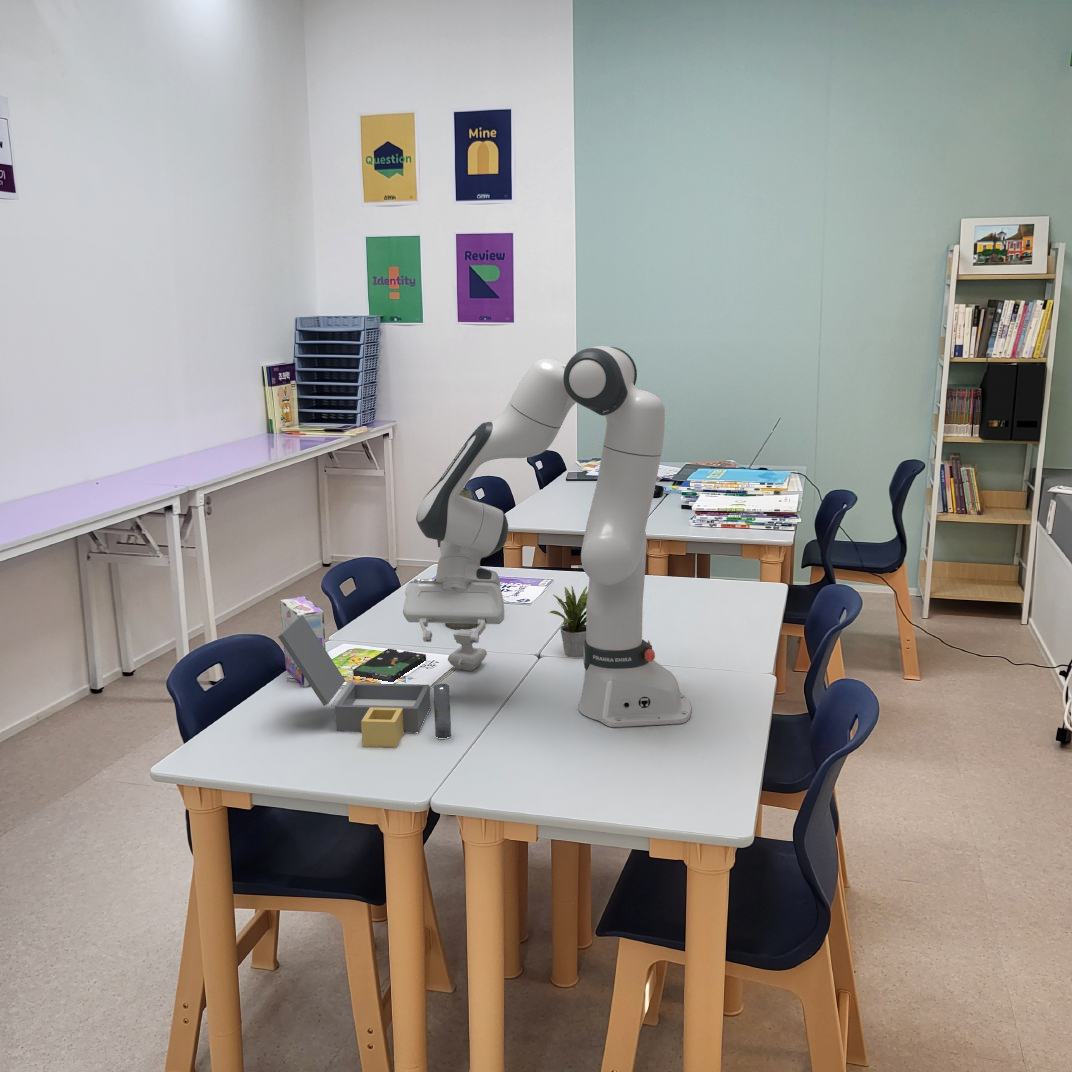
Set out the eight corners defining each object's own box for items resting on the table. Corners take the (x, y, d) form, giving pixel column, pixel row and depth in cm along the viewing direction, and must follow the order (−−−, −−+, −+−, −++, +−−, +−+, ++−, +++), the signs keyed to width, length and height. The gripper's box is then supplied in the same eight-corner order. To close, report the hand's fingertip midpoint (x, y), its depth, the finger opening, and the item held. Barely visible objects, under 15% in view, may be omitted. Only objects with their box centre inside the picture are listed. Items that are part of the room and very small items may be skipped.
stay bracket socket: (404, 732, 189) (402, 708, 188) (396, 747, 183) (395, 722, 182) (371, 731, 190) (369, 707, 189) (362, 746, 184) (361, 721, 182)
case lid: (302, 614, 198) (298, 617, 199) (282, 634, 187) (277, 636, 187) (345, 680, 201) (341, 682, 201) (328, 703, 189) (323, 706, 189)
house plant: (597, 669, 220) (597, 599, 217) (538, 662, 225) (537, 593, 221) (613, 648, 233) (613, 581, 230) (557, 642, 238) (556, 577, 234)
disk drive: (388, 659, 230) (352, 681, 217) (387, 648, 229) (351, 669, 216) (427, 665, 226) (393, 687, 213) (426, 653, 225) (393, 675, 212)
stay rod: (452, 732, 189) (450, 683, 187) (449, 739, 186) (447, 689, 184) (437, 732, 189) (435, 683, 187) (434, 739, 186) (432, 689, 184)
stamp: (472, 676, 217) (471, 640, 215) (445, 672, 220) (444, 636, 218) (489, 662, 225) (488, 627, 223) (463, 659, 228) (462, 624, 226)
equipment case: (430, 707, 201) (429, 681, 199) (418, 732, 189) (417, 705, 188) (348, 705, 202) (347, 680, 201) (331, 730, 190) (330, 703, 189)
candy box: (329, 683, 214) (324, 610, 211) (302, 688, 212) (297, 615, 208) (309, 663, 226) (305, 594, 222) (284, 668, 223) (279, 598, 220)
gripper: (404, 571, 200) (395, 632, 193) (504, 572, 198) (499, 635, 191) (410, 586, 206) (401, 646, 198) (507, 587, 204) (502, 649, 197)
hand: (450, 641), depth 195 cm, fingers open, 8 cm apart
